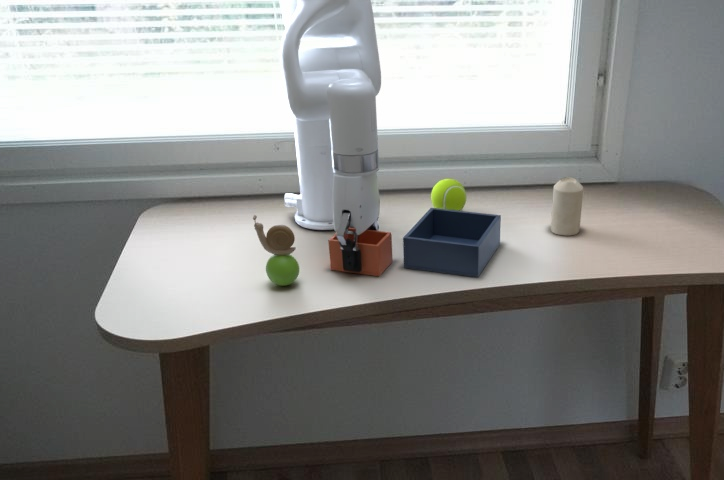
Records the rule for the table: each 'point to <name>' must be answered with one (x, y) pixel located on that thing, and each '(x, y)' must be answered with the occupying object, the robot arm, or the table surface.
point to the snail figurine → (279, 253)
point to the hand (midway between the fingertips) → (361, 260)
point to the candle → (566, 207)
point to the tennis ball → (448, 195)
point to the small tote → (365, 252)
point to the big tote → (452, 242)
